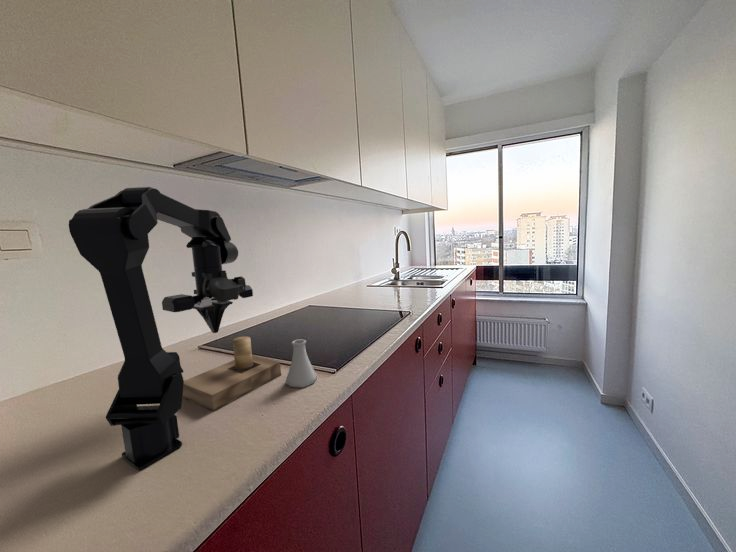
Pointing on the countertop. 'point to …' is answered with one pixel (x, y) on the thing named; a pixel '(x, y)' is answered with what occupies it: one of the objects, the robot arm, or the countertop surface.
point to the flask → (300, 367)
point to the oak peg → (242, 354)
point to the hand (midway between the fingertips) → (215, 332)
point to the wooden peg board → (229, 382)
